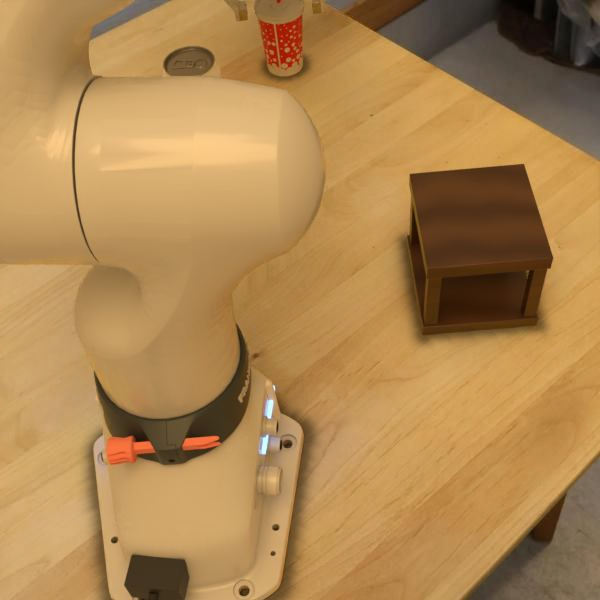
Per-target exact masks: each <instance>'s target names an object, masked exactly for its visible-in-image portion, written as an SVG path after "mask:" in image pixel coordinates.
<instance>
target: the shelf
mask: <svg viewBox="0 0 600 600" xmlns="http://www.w3.org/2000/svg"><path fill="white" fill-rule="evenodd" d="M408 179H409V181H408V185H409V191H410V207H409V209H410V210H409V228H408V229H409V230H408V235H406V246H407V252H408V253H407V254H408V259H409V264H410V269H411V277H412V282H413V287H414V293H415V299H416V305H417V310H418V315H419V322H420V327H421V331H422V332H421V333H422V336H425V335H437V334H449V333H462V332H473V331H474V332H475V331H486V330H496V329H499V330H500V329H509V328H510V329H511V328H522V327H533V326H534V327H535V326H537V325H538V321H539V316H538V309H539V305H540V301H541V297H542V293H543V288H544V286H545V281H546V277H547V273H548V270H550V269H551V268H552V265H553V261H554V255H553V252H552V249H551V246H550V242H549V239H548V237H547V232H546V230H545V226H544V223H543V219H542V217H541V213H540V210H539V207H538V204H537V201H536V198H535V195H534V191H533V188H532V185H531V181H530V178H529V175H528V171H527V168H526V165H525V163H517V164H515V163H514V164H505V165H494V166H481V167H472V168H471V167H469V168H459V169H450V170H449V169H448V170H447V169H446V170H437V171H426V172H414V173H409V178H408ZM526 271H527V272H528V275H527V273H526Z"/></svg>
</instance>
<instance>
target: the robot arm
mask: <svg viewBox="0 0 600 600" xmlns="http://www.w3.org/2000/svg"><path fill="white" fill-rule="evenodd" d="M136 1H137V0H0V265H4V266H5V265H7V266H11V265H12V266H13V265H14V266H15V265H16V266H18V265H19V266H21V265H23V266H91V267H90V269H89V270H88V271H87V272H86V274H85V275H84V276H83V278H82V280H81V282H80V283H79V286H78V288H77V292H76V293H75V294H76V295H75V298H74V304H73V324H74V329H75V332H76V335H77V338H78V340H79V341H80V344H81V346H82V348H83V350H84V352H85V354H86V357H87V358H88V361H89V362H90V365H91V367H92V369H93V377H94V382H95V383H94V384H95V392H96V395H95V396H94V399H95V401H96V403H97V405H98V407H99V412H100V419H101V427H102V435H100V437H98V438H97V439H96V440H95V442H94V443H93V447H92V449H93V450H92V452H93V453H92V454H93V461H94V470H95V479H96V488H97V489H96V490H97V498H98V507H99V517H100V525H101V533H102V543H103V552H104V560H105V561H104V562H105V570H106V579H107V586H108V592H109V595H110V598H111V600H142V599H144V600H266V599H267V598H269V597H270V596H271V595H273V594H274V593H275V592H277V590H278V589H279V588H280V586H281V584H282V580H283V575H284V569H285V562H286V557H287V556H286V555H287V550H288V544H289V543H288V542H289V537H290V530H291V524H292V517H293V511H294V505H295V498H296V491H297V485H298V478H299V474H300V467H301V459H302V453H303V446H304V440H305V433H304V430H303V427H302V426H301V424H300V423H299V421H296V420H295V419H293V418H291V417H290V416H288V415H286V414H284V413H282V412H281V410H280V407H279V402H278V398H277V395H276V387H275V386H276V385H274V384H273V383H274V382H273V381H272V380H271V379H269V378H268V376H267V375H265V374H263V372H261V371H260V370H258V369H257V368H256V367H255V366H254V365H253V364H251V363H252V362H251V358H250V355H251V354H250V351H249V347H248V343H247V342H246V339H245V337H244V335H243V332H242V330H241V328H240V326H239V325H238V323H237V322H236V318H235V317H236V316H235V309H234V292H235V290H236V288H237V287H238V286H239V285H240V283H242V281H244V279H246V277H247V276H248V275H250V274H251V273H252V272H253V271H255V270H256V269H258V268H259V267H261V266H262V265H264V264H266V263H268V262H270V261H271V260H274V259H276V258H278V257H280V256H283V255H285V254H288V253H289V252H290V251H291V250H292V249H293V248H295V247H296V246H297V245H298V244H299V242H300V241H301V240H302V239H303V238H304V237H305V235H306V234H307V233H308V232H309V230H310V228H311V226H312V225H313V223H314V221H315V219H316V217H317V215H318V213H319V210H320V208H321V205H322V201H323V197H324V194H325V187H326V178H327V177H326V174H327V173H326V172H327V171H326V166H327V165H326V157H325V152H324V151H325V150H324V147H323V143H322V140H321V137H320V134H319V132H318V129H317V127H316V125H315V123H314V121H313V120H312V118H311V116H310V115H309V113H308V112H307V111H306V109H305V107H304V106H303V105H302V104H301V103H300V101H299V100H298V99H297V97H295V96H294V95H293V94H292V93H290V91H288V90H287V89H284V88H279V87H274V86H269V85H265V84H260V83H256V82H250V81H245V80H240V79H233V78H227V77H223V76H222V77H216V76H159V75H158V76H154V75H153V76H105V77H104V76H103V75H97V74H93V71H92V67H91V61H90V40H91V35H92V31H93V28H94V27H95V26H96V25H98V24H100V23H101V22H103V21H105V20H107V19H108V18H111V17H112V16H115V14H117V13H119V12H121V11H122V10H124V9H126V8H127V7H129V6H130V5H132V4H134V2H136ZM223 1H224V3H226V4H227V6H229V8H230V9H231V10H232V11H233V12H234V19H235V22H243V21H245V22H246V21H248V20H249V18H248V16H249V15H248V7H247V0H223ZM325 2H327V0H311V7H312V15H316V14H325V13H326V5H325ZM287 444H289V445H291V446H290V447H285V445H287ZM275 529H277V530H275ZM245 589H247V590H248V594H247V595H241V592H242V590H245Z"/></svg>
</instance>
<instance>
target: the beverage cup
mask: <svg viewBox="0 0 600 600" xmlns="http://www.w3.org/2000/svg"><path fill="white" fill-rule="evenodd" d="M253 11H254V14H255V16H256V18H257V19H258V20H257V21H258V26H259V31H260V38H261V41H262V46H263V52H264V57H265V62H266V67H267V69H268V71H269V73H270V74H272V75H274V76H276V77H290V76H295V75H296V74H298V73H299V72H301V70H302V69H303V66H304V42H303V41H304V39H303V37H304V36H303V34H304V33H303V13H304V12H305V0H254V3H253Z"/></svg>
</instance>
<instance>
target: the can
mask: <svg viewBox="0 0 600 600" xmlns="http://www.w3.org/2000/svg"><path fill="white" fill-rule="evenodd" d="M162 67H163V71H162V76H216V77H222V78H223V74H222V70H221V67H220V64H219V62H217V60H216V59H215V55H214V53H213V52H212V51H211V50H210V49H208V48H206V47H204V46H200V45H187V46H182V47H179V48H176V49H175V50H173V51H170V53H169V54H167V55H166V57H165V58H164V60H163V63H162Z"/></svg>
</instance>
